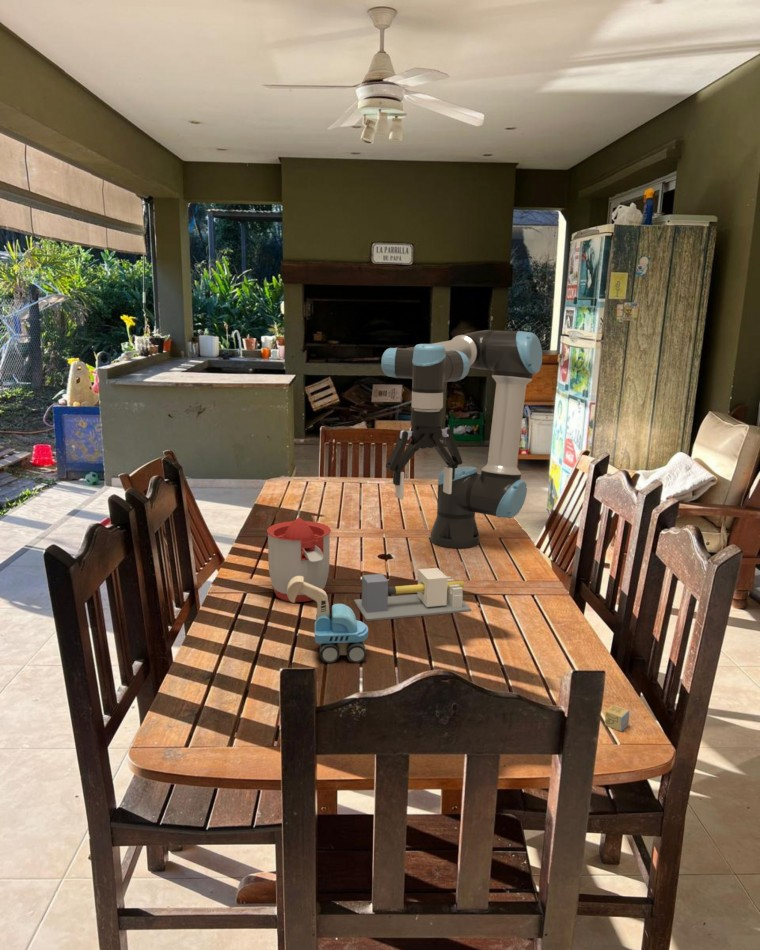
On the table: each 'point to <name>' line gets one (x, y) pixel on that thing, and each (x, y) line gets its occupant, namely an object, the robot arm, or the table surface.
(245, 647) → the table surface
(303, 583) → the toy excavator
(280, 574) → the citrus juicer
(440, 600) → the sleeve
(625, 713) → the alphabet block
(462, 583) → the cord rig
